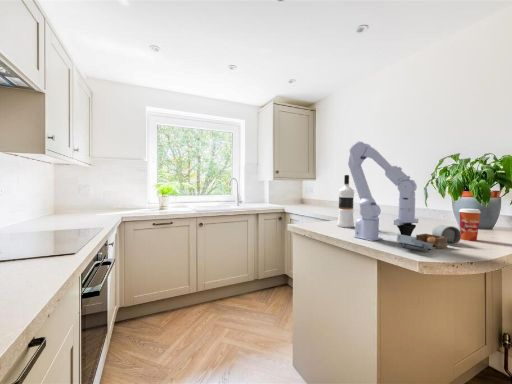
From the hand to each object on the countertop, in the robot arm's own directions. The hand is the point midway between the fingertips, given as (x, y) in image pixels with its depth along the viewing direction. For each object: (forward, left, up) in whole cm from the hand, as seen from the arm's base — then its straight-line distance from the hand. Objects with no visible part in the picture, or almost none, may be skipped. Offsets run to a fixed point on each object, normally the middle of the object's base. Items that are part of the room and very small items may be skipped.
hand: (405, 241), depth 101 cm
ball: (+6, +7, +1) cm, 10 cm away
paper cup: (+8, +36, -1) cm, 37 cm away
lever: (+4, -6, 0) cm, 7 cm away
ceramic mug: (+6, +17, -2) cm, 18 cm away
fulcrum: (+6, -5, -1) cm, 9 cm away
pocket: (+6, +7, -1) cm, 9 cm away
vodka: (-41, +12, -1) cm, 42 cm away
